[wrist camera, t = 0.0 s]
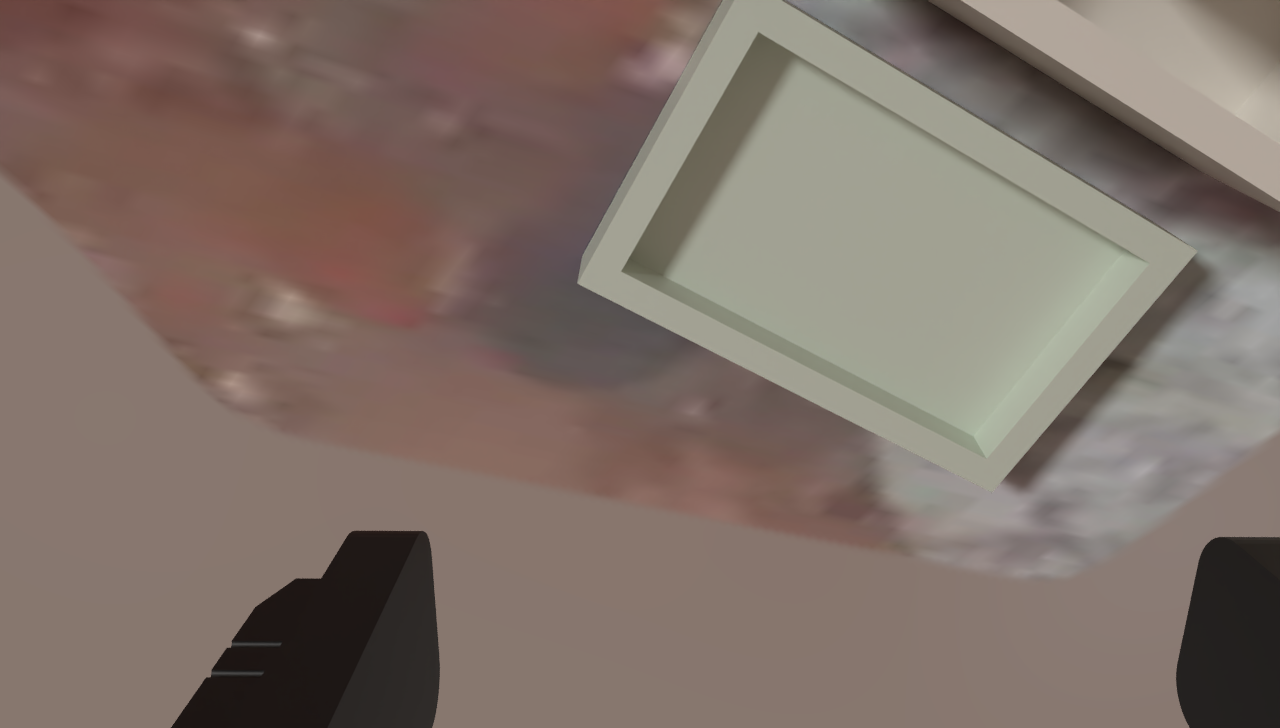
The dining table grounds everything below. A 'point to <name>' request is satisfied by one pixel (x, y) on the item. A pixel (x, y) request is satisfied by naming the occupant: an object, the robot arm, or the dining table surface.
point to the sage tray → (873, 244)
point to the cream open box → (1161, 72)
